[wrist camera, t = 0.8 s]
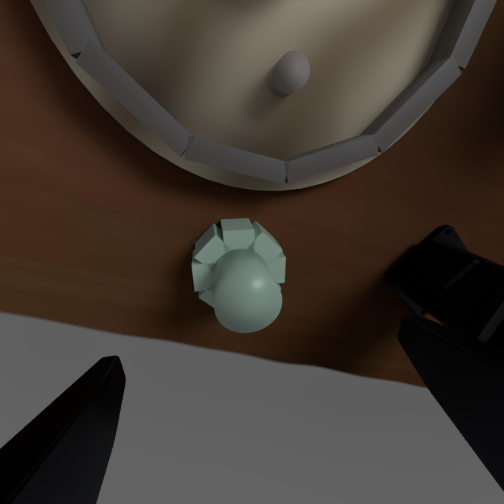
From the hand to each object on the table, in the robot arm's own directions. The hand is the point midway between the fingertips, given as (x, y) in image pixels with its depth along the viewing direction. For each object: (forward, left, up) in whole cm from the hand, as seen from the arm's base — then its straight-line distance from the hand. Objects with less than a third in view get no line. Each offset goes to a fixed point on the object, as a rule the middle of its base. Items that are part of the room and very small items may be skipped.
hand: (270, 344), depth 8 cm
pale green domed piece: (-2, +1, -11) cm, 11 cm away
